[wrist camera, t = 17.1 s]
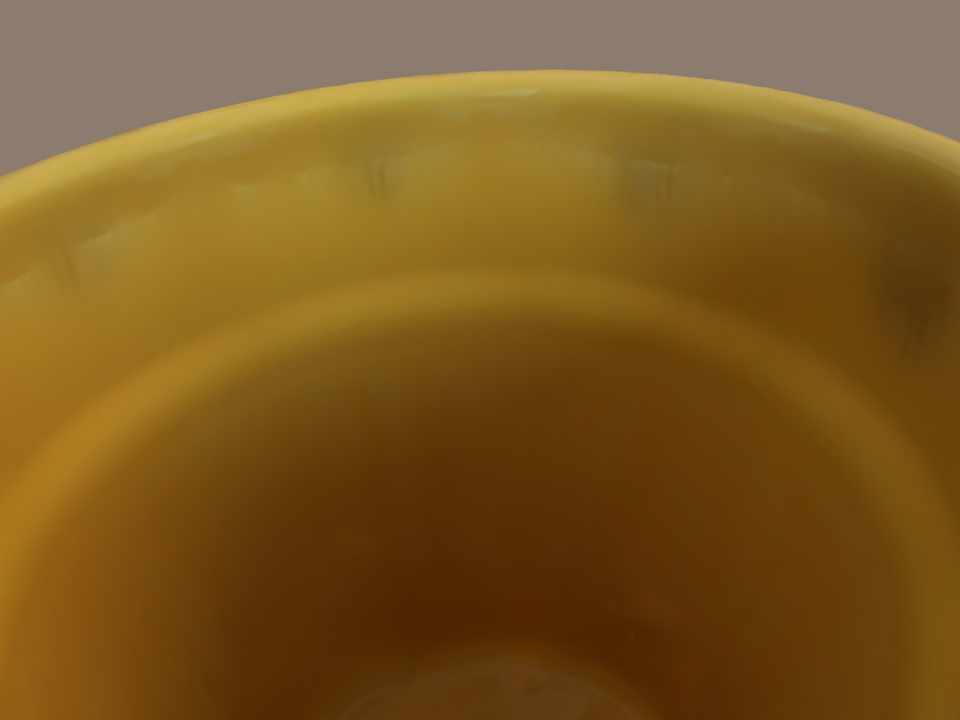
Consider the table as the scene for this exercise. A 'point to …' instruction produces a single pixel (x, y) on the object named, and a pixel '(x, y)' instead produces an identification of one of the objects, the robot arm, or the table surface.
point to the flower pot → (485, 409)
